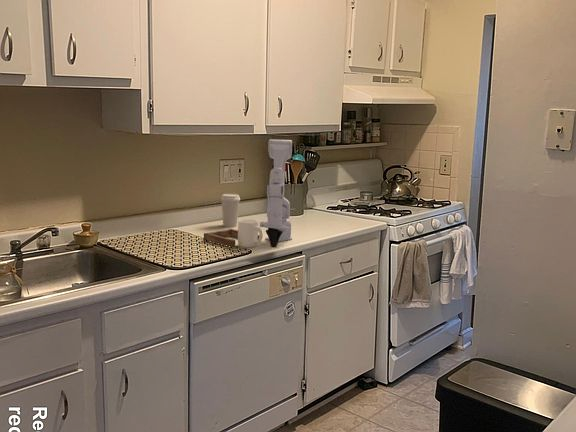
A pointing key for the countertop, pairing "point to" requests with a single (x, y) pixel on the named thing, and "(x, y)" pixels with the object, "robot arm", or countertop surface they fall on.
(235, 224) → the coffee cup
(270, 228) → the robot arm
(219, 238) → the box
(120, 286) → the countertop surface
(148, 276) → the countertop surface
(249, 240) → the mug
